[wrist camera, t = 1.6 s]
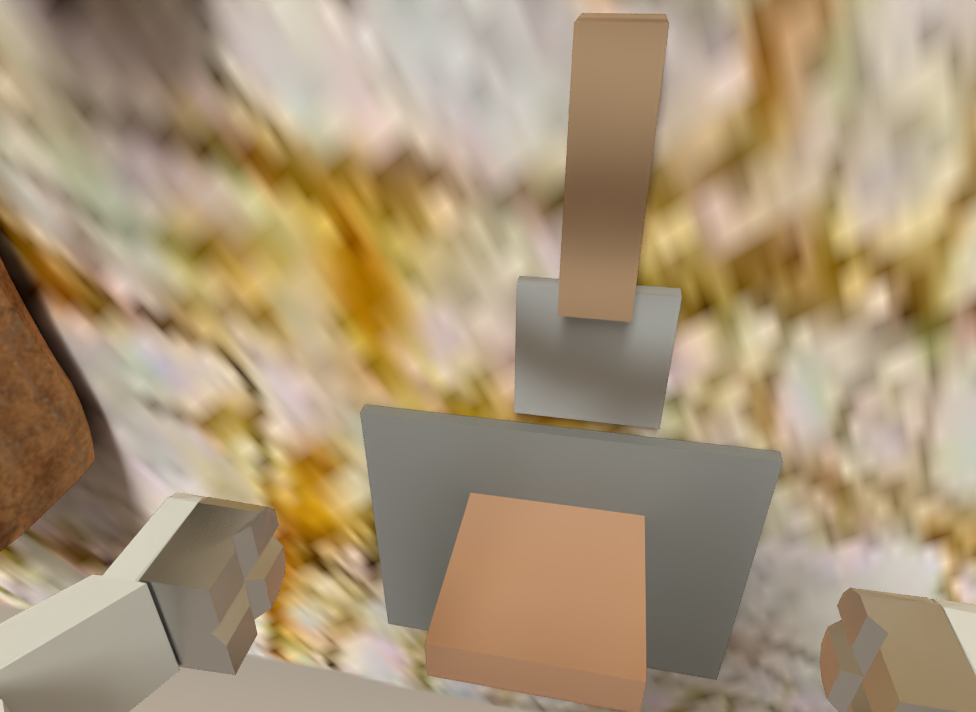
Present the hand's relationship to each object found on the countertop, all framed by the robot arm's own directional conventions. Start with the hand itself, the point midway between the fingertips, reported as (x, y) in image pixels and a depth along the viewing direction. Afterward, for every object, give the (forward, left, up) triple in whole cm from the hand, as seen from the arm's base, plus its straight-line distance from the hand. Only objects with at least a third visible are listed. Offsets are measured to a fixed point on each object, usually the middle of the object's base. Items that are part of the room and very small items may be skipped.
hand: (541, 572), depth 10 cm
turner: (0, +2, -17) cm, 17 cm away
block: (+1, +15, -16) cm, 22 cm away
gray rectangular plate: (+1, +18, -16) cm, 24 cm away
